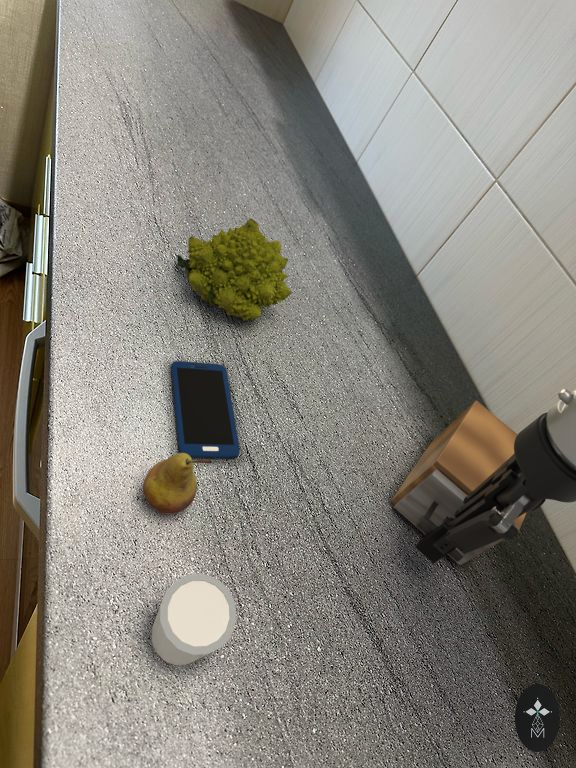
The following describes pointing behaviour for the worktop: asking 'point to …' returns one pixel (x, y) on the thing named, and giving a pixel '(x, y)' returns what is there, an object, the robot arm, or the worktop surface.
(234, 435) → the cell phone
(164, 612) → the white cup
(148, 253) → the worktop surface
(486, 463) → the cabinet
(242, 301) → the vegetable
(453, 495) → the drawer
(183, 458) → the fruit
